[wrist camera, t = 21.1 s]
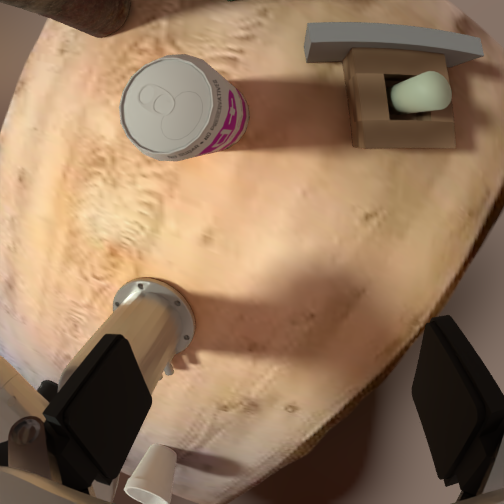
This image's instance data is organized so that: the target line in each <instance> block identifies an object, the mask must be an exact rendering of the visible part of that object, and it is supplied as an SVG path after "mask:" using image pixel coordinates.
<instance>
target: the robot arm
mask: <svg viewBox="0 0 504 504" xmlns="http://www.w3.org/2000/svg"><path fill="white" fill-rule="evenodd" d="M194 333H195V318H194V314H193V312H192V310H191V307H190V306H189V304H188V303H187V301H186V300H185V298H184V297H183V296H182V295H181V294H180V293H179V292H178V291H176V290H175V289H174V288H173V287H171V286H169V285H168V284H166V283H164V282H161V281H159V280H156V279H151V278H138V279H133V280H131V281H129V282H127V283H126V284H124V285H123V286H122V287H121V288H120V289H119V290H118V292H117V293H116V295H115V297H114V301H113V313H112V314H111V315H110V317H109V318H108V319H107V320H106V321H105V322H104V323H103V324H102V325H101V327H100V328H99V329H98V330H97V331H96V332H95V333H94V335H93V336H92V337H91V338H90V339H89V340H88V341H87V343H86V344H85V345H84V346H83V347H82V348H81V350H80V351H79V352H78V353H77V354H76V355H75V357H74V358H73V359H72V360H71V361H70V362H69V364H68V365H67V366H66V368H65V369H64V370H63V372H62V375H61V377H60V380H59V384H58V393H57V394H56V396H55V397H54V398H53V399H52V401H51V402H50V403H49V402H48V401H47V400H46V399H45V398H44V397H43V396H42V395H40V394H39V393H38V392H37V391H36V390H35V389H34V388H33V387H32V386H31V385H30V384H29V383H28V382H27V381H26V380H25V379H24V378H23V377H22V376H21V375H20V374H19V373H18V372H17V371H16V370H15V368H14V367H13V366H12V365H11V364H9V363H8V362H7V361H6V360H5V359H4V358H3V357H2V356H0V504H114V503H112V501H113V499H114V496H115V492H116V489H117V485H118V480H119V475H120V471H121V468H122V466H123V464H124V462H125V460H126V458H127V456H128V453H129V451H130V449H131V447H132V445H133V443H134V441H135V439H136V437H137V434H138V432H139V430H140V428H141V426H142V424H143V422H144V420H145V418H146V416H147V413H148V411H149V409H150V407H151V405H152V397H151V395H152V393H153V391H154V389H155V387H156V385H157V383H158V381H159V380H161V379H162V378H163V375H162V373H163V371H165V374H166V375H172V374H173V373H174V370H173V367H172V365H171V361H172V359H173V357H174V355H175V354H178V353H180V352H181V351H183V350H184V349H185V348H187V347H188V345H189V344H190V342H191V341H192V338H193V336H194ZM412 397H413V400H414V403H415V405H416V409H417V411H418V414H419V417H420V420H421V423H422V426H423V429H424V432H425V435H426V438H427V442H428V445H429V448H430V451H431V454H432V458H433V461H434V465H435V468H436V472H437V475H438V478H439V479H444V483H445V486H446V487H447V486H450V485H453V484H456V483H459V485H460V489H461V490H462V491H461V493H460V495H459V497H458V499H457V501H456V502H455V503H452V504H504V395H503V393H502V392H501V390H500V388H499V387H498V385H497V383H496V382H495V380H494V379H493V377H492V375H491V374H490V372H489V371H488V369H487V368H486V366H485V365H484V363H483V361H482V360H481V358H480V357H479V356H478V354H477V353H476V351H475V350H474V348H473V347H472V345H471V344H470V342H469V341H468V340H467V338H466V337H465V335H464V334H463V333H462V331H461V330H460V329H459V327H458V326H457V324H456V323H455V322H454V320H453V319H452V317H451V316H450V315H446V316H439V317H433V318H432V319H431V320H430V323H427V324H426V325H425V330H424V335H423V340H422V345H421V350H420V355H419V360H418V364H417V369H416V373H415V377H414V381H413V385H412Z"/></svg>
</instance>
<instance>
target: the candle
mask: <svg viewBox="0 0 504 504" xmlns="http://www.w3.org/2000/svg"><path fill="white" fill-rule="evenodd" d="M0 2H1V3H5V4H8V5H12V6H15V7H18V8H22V9H24V10H27V11H30V12H33V13H37V14H39V15H42V16H45V17H48V18H51V19H53V20H56V21H58V22H61V23H63V24H65V25H68V26H70V27H73V28H75V29H78V30H80V31H82V32H85V33H87V34H90V35H92V36H95V37H98V38H103V37H105V36H107V35H109V34H111V33H113V32H115V31H116V30H118V29H119V28H120V27H121V26H122V25H123V24H124V22H125V20H126V18H127V16H128V13H129V8H130V0H0Z"/></svg>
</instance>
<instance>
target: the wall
mask: <svg viewBox="0 0 504 504" xmlns="http://www.w3.org/2000/svg"><path fill="white" fill-rule="evenodd" d="M352 47H367V48H391V49H405V50H416V51H426V52H434V53H442V54H444V55H445V60H446V65H447V67H453V66H456V65H458V64H461V63H464V62H467V61H470V60H473V59H476V58H479V57H482V56H484V54H483V49H482V44H481V40H480V38H477V37H473V36H468V35H463V34H459V33H453V32H448V31H442V30H436V29H430V28H423V27H415V26H406V25H395V24H382V23H361V22H324V23H308V24H307V30H306V37H305V43H304V51H305V57H306V63H310V62H331V61H342V60H343V59H344V58H345V56H346V55H347V54H348V52H349V51H350V49H351V48H352Z"/></svg>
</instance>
